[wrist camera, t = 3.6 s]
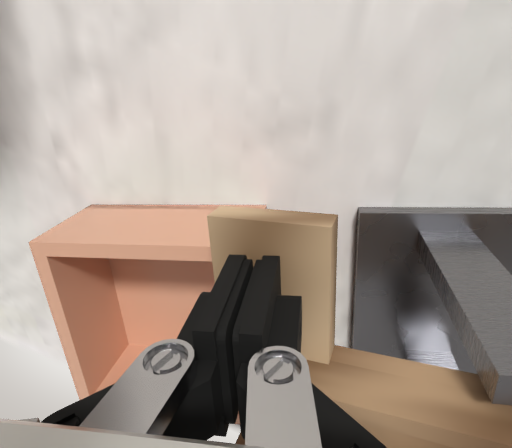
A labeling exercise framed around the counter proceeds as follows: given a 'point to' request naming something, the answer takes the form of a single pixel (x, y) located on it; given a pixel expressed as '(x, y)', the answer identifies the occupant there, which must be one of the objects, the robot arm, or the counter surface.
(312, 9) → the counter surface
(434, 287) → the pivot stand
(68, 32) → the counter surface
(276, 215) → the lever
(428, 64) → the counter surface
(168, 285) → the pink open box
